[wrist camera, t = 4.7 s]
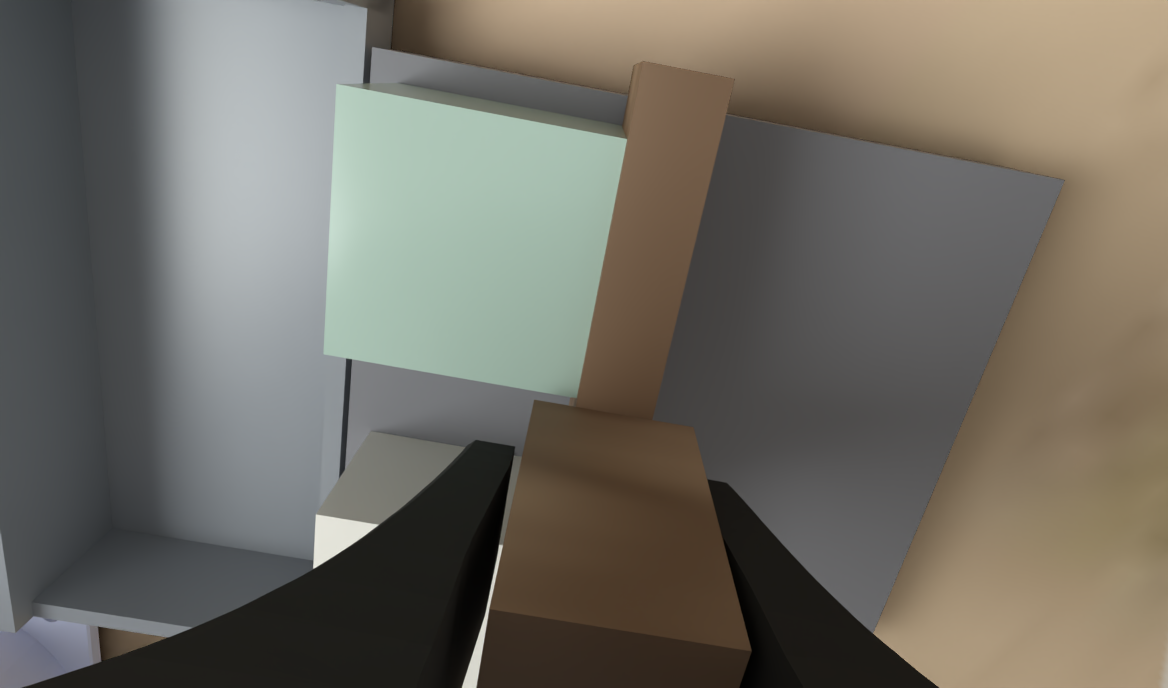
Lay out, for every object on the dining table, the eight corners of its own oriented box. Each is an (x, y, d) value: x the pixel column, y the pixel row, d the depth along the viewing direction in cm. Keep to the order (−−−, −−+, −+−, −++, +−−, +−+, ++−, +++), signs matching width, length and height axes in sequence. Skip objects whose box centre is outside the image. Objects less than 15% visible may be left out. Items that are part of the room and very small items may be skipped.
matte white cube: (359, 581, 16) (307, 687, 13) (371, 431, 15) (316, 514, 12) (529, 609, 16) (514, 719, 13) (557, 462, 15) (546, 552, 12)
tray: (105, 531, 18) (-4, 630, 15) (55, -73, 13) (-125, -123, 10) (352, 571, 18) (298, 677, 15) (395, -7, 13) (328, -34, 10)
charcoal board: (364, 541, 18) (336, 595, 16) (403, 51, 14) (371, 46, 12) (828, 618, 19) (854, 678, 17) (1004, 166, 14) (1064, 179, 12)
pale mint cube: (380, 297, 14) (323, 354, 11) (397, 82, 12) (336, 83, 9) (581, 333, 14) (577, 397, 11) (621, 125, 12) (626, 139, 10)
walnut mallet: (494, 647, 16) (412, 1075, 9) (595, 57, 12) (585, 26, 5) (598, 663, 16) (595, 1100, 9) (740, 86, 12) (944, 95, 5)
